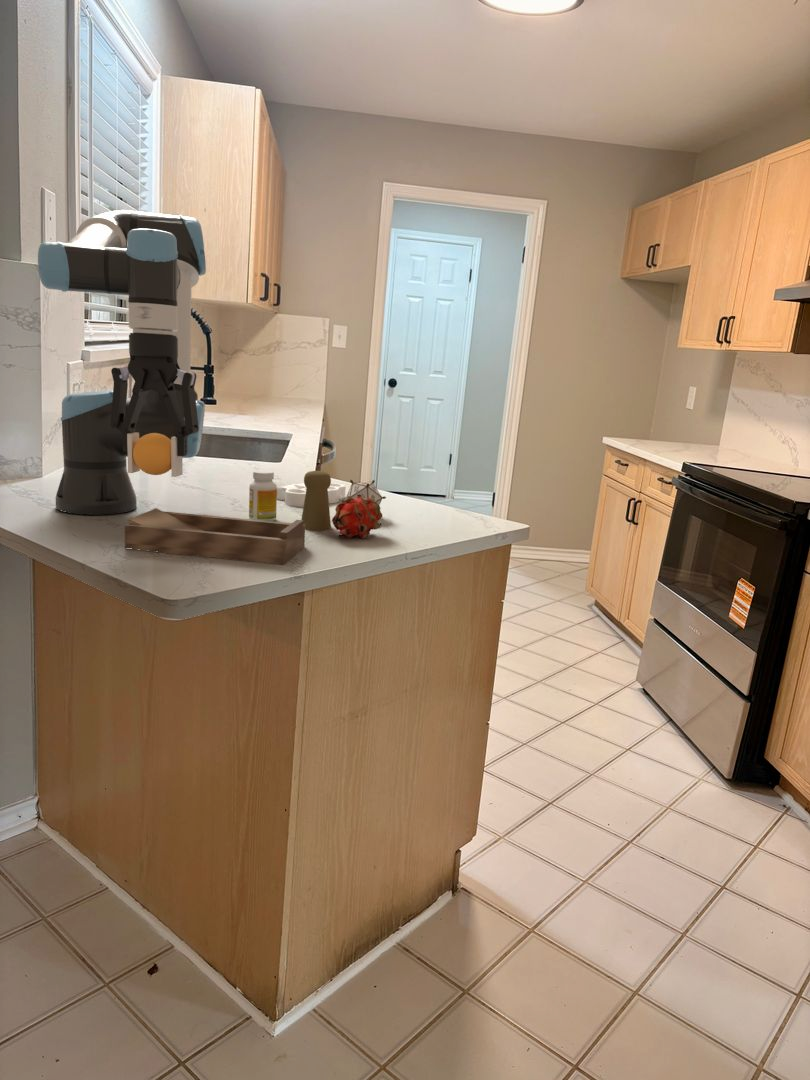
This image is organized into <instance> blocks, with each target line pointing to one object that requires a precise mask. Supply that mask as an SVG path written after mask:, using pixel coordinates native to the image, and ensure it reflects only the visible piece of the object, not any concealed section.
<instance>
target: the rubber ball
mask: <svg viewBox="0 0 810 1080" xmlns="http://www.w3.org/2000/svg"><path fill="white" fill-rule="evenodd" d="M133 458H134V461H135V463H136V465H137V466H138V467H139V468H140V470H141V471H142V472H144V473H145V474H148V475H150V476H161V475H164V474H166V473H168V472H169V471H171V440H170V439H169V438H168V437H166V436H165V435H162V434H159V433H149V434H146V435H144V436H142V437H141V438H140V439H139V440H138V441H137V442H136V444H135V446H134V449H133Z"/></svg>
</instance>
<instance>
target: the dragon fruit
mask: <svg viewBox="0 0 810 1080" xmlns="http://www.w3.org/2000/svg"><path fill="white" fill-rule="evenodd" d="M344 501H345V502H343V503H342V502H340V503H338V504H337V505H336V506H335V509H334V510H335V515H334V516H333V517H332V518H331V523H332V525H333V526H334V528H335V530H336V531H338V533H339V534H338V536H337V537H339V538H346V539H351V538H352V537H355V536H359V537H360V538H361V539H362V540H365V538H366V537H368V536H370V532H371V530H378V529H381V527H382V523H379V522H380V521H381V520H383V513H382V512H381V507H380V505H379V504H377V503H375V499H374V498H368V499H367V500H365V499H363V498H362V496H361V495H357V498H356V499H353V498H349V497H348V498H347V499H346V500H345V499H344Z"/></svg>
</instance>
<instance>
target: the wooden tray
mask: <svg viewBox="0 0 810 1080" xmlns="http://www.w3.org/2000/svg"><path fill="white" fill-rule="evenodd" d="M305 538H306V529H305V524H304V520H301V519H295V520H294V521H293V522H282V521H262V520H251V519H249V518H239V517H238V518H237V517H227V516H219V515H207V514H196V513H194V514H193V513H185V512H184V513H183V512H174V511H173V512H172V511H164V510H161V509H158V508H154V509H151V510H149V511H146V512H143V513H141V514H138V515H137V516H133V517H132V518H129V520H128V522H127V524H124V548H132V549H140V550H139V551H141V550H149V551H148V552H151V551H158V552H157V553H161V552H166V553H165V554H171V553H174V554H173V555H181V554H186V555H185V556H191V555H199V556H198V557H201V556H208V557H207V558H211V557H215V558H214V559H222V558H227V559H226V560H232V559H237V560H236V561H242V560H245V562H252V561H255V562H256V563H262V562H266V563H265V564H272V563H274V565H282V566H283V565H286V564H287V563H288V562H289V561H290V560H291V559H293V558H294V557H295V556H296V555H297V554H298V553H299V552H300V551H302V549H304V548H305V541H306V539H305Z"/></svg>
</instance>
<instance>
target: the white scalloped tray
mask: <svg viewBox="0 0 810 1080" xmlns="http://www.w3.org/2000/svg"><path fill="white" fill-rule="evenodd" d="M306 489H307V488H306V486H305V484H304V482H303V483H297V484H296V483H293V484H289V485H284V486H277V501H278V500H280V501H284V504H285V505H286V506H289V507H299V508H300V507H301V508H302V507H304V501H305V495H306ZM342 498H346V485H345V484H341V483H334V482H331V484H330V486H329V488H328V499H329V504H333V503H334V504H336V503H338V502H340V500H343V499H342ZM339 499H340V500H339Z"/></svg>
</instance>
